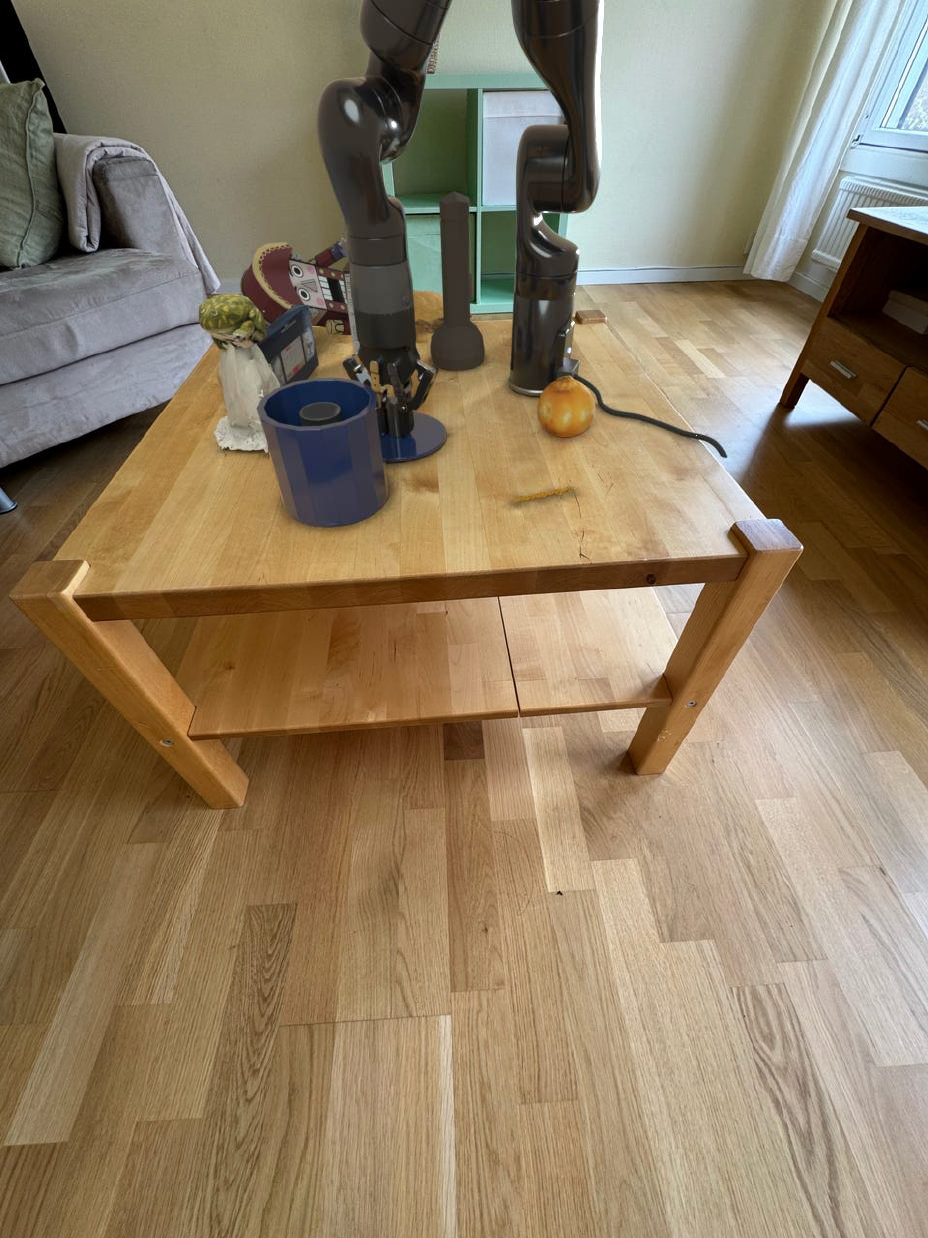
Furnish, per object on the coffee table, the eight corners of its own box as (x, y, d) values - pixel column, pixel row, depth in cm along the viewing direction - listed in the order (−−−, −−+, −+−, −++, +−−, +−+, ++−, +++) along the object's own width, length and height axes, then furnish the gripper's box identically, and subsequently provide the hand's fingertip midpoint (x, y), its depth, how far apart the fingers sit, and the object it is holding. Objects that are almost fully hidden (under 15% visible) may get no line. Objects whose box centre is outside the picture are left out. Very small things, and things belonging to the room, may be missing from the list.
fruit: (517, 416, 83) (549, 373, 77) (544, 400, 88) (575, 359, 82) (556, 457, 83) (591, 417, 77) (580, 438, 88) (615, 400, 82)
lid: (460, 426, 86) (459, 386, 82) (422, 473, 77) (419, 430, 72) (376, 412, 90) (371, 373, 85) (330, 455, 80) (322, 413, 76)
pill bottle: (370, 493, 72) (358, 409, 65) (332, 513, 69) (314, 428, 62) (340, 475, 75) (325, 394, 68) (302, 494, 72) (281, 411, 65)
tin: (405, 479, 75) (396, 386, 67) (357, 536, 67) (339, 438, 58) (319, 462, 79) (299, 371, 70) (263, 514, 70) (232, 418, 61)
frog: (199, 436, 84) (148, 300, 71) (270, 405, 91) (236, 276, 78) (247, 462, 79) (201, 320, 66) (319, 427, 86) (291, 292, 72)
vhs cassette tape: (277, 410, 90) (260, 344, 83) (259, 408, 91) (241, 342, 84) (322, 364, 103) (311, 304, 96) (307, 363, 103) (294, 303, 96)
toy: (428, 315, 108) (282, 284, 88) (390, 351, 117) (251, 331, 97) (407, 245, 108) (257, 198, 88) (372, 287, 117) (229, 253, 97)
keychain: (574, 490, 72) (571, 494, 73) (571, 483, 72) (568, 487, 73) (516, 502, 70) (515, 506, 71) (514, 495, 70) (512, 499, 71)
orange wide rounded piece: (480, 332, 117) (455, 302, 120) (485, 313, 114) (460, 282, 117) (407, 344, 110) (383, 312, 113) (411, 324, 106) (386, 291, 109)
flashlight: (436, 373, 100) (491, 367, 101) (427, 198, 82) (494, 194, 83) (426, 353, 107) (477, 347, 108) (416, 187, 89) (477, 183, 90)
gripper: (447, 297, 71) (451, 428, 83) (348, 286, 74) (366, 414, 86) (422, 316, 66) (430, 453, 78) (318, 304, 69) (341, 436, 82)
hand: (396, 432), depth 82 cm, fingers closed on lid, 2 cm apart
